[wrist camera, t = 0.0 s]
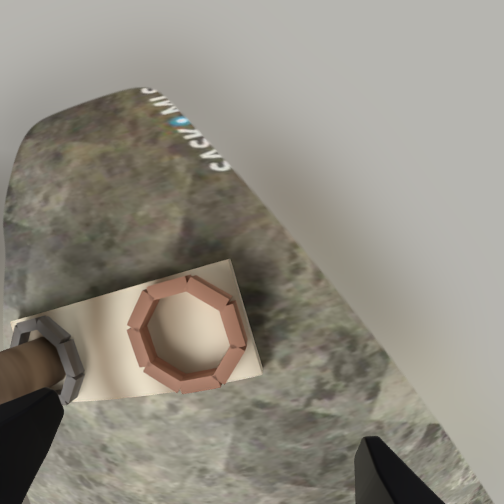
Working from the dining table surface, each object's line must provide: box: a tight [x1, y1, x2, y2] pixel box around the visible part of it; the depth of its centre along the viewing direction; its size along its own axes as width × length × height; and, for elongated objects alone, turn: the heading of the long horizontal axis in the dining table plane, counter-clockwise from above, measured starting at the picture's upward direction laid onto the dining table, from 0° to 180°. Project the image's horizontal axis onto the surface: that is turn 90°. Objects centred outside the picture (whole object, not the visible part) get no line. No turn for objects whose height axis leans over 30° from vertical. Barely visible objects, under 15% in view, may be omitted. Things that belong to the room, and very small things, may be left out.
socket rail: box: [10, 259, 263, 405], centre depth 22 cm, size 23×9×3 cm, turn 106°
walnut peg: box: [0, 337, 66, 404], centre depth 18 cm, size 4×4×9 cm
